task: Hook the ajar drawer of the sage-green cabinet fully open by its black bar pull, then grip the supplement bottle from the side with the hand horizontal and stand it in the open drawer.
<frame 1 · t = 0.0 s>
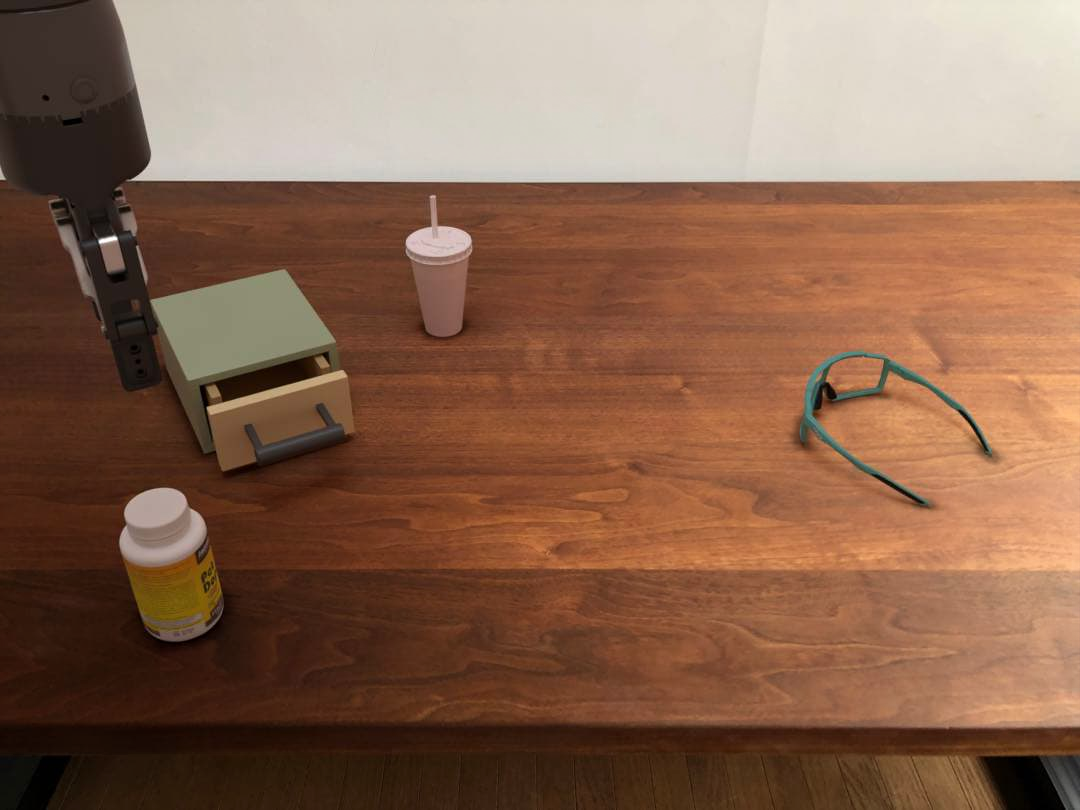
hand: (128, 349, 64), 21 cm above the table, tool pointing down, fingers open, 8 cm apart
smoothie: (443, 328, 106), on the table
cabinet: (253, 390, 97), on the table
drawer: (270, 397, 90), point 4 cm above the table, slide at 3.0 cm
supplement bottle: (186, 617, 75), on the table
sunglasses: (883, 442, 91), on the table
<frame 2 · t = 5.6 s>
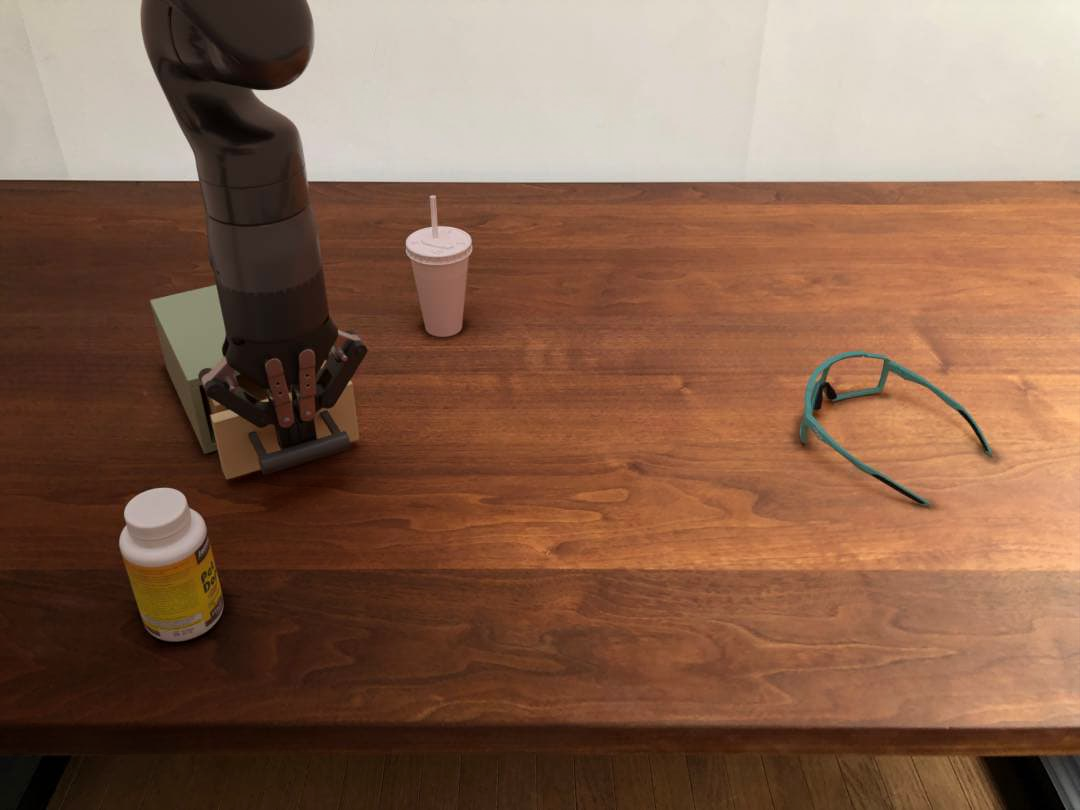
hand: (299, 453, 85), 3 cm above the table, tool pointing down, fingers closed
drawer: (274, 404, 89), point 4 cm above the table, slide at 4.2 cm, touching gripper
everything else where it was.
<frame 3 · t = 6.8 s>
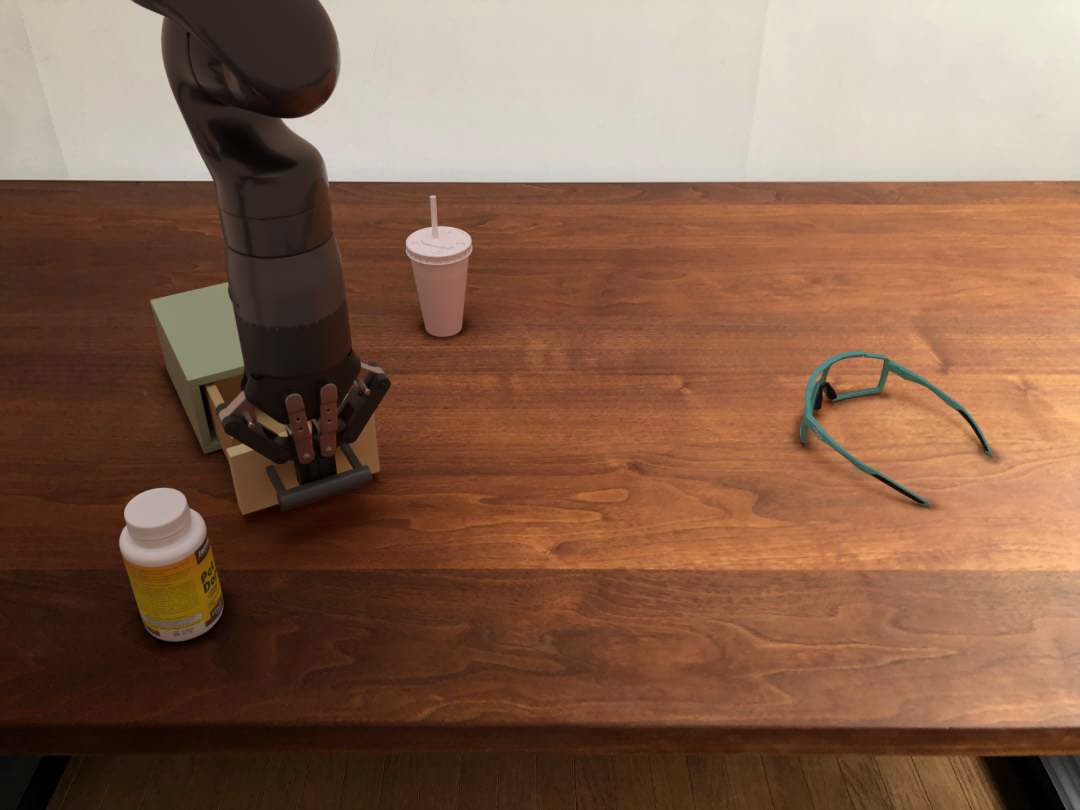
hand: (319, 489, 81), 3 cm above the table, tool pointing down, fingers closed
drawer: (292, 435, 85), point 4 cm above the table, slide at 9.0 cm, touching gripper
everything else where it was.
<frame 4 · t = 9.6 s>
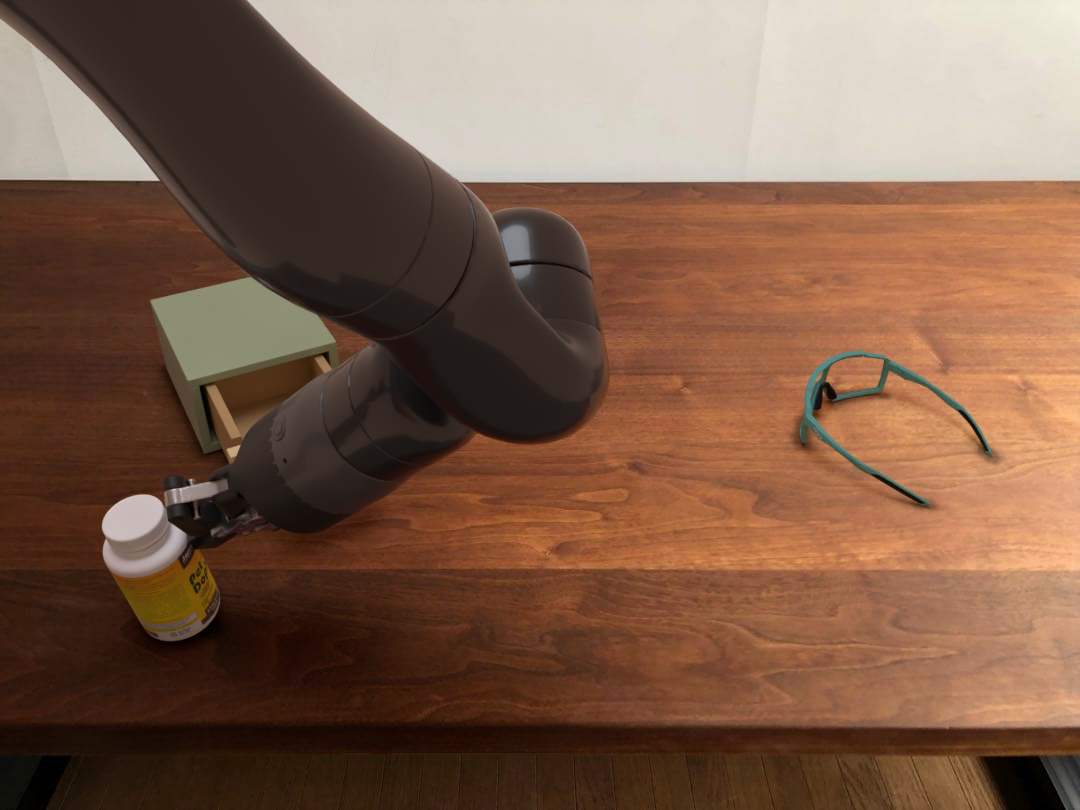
hand: (201, 534, 70), 8 cm above the table, tool tilted 45°, fingers closed
drawer: (292, 435, 85), point 4 cm above the table, slide at 9.1 cm
supplement bottle: (184, 613, 75), on the table, touching gripper
everything else where it was.
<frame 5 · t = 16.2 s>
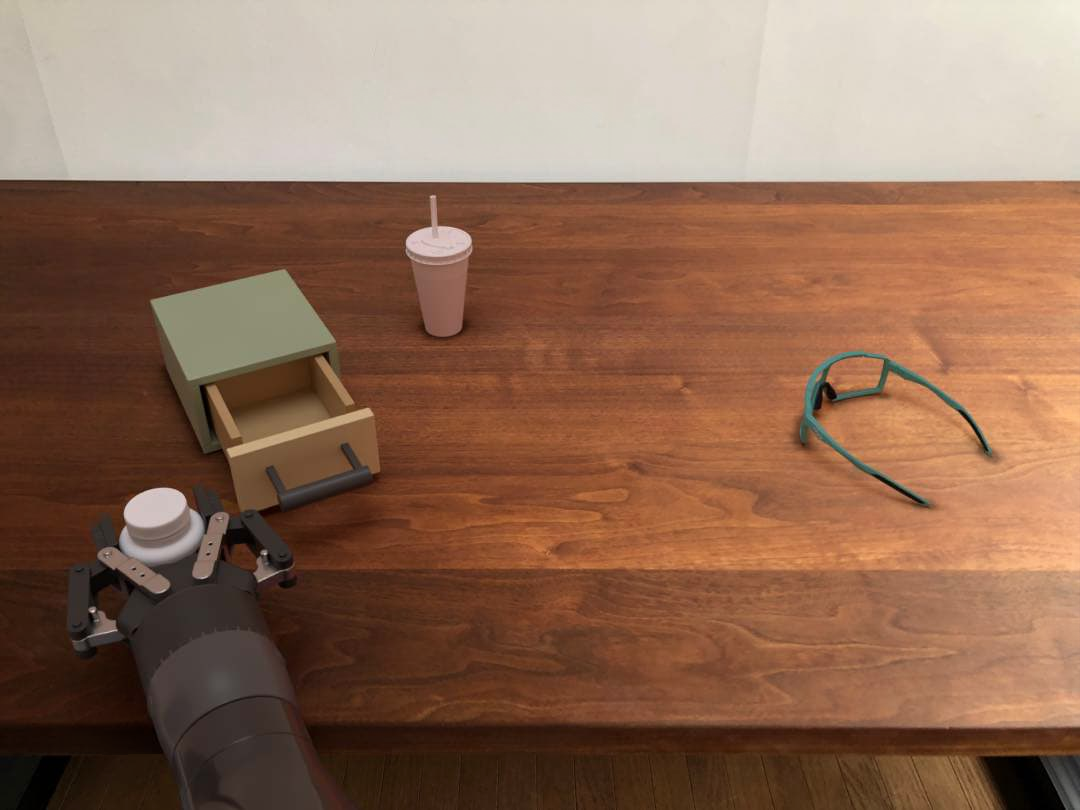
hand: (154, 509, 72), 8 cm above the table, tool horizontal, fingers closed on supplement bottle, 5 cm apart
supplement bottle: (186, 617, 75), on the table, touching gripper
everything else where it was.
when the fingers open (10 cm above the table, at t = 23.8 s): supplement bottle stays where it is, resting on drawer.
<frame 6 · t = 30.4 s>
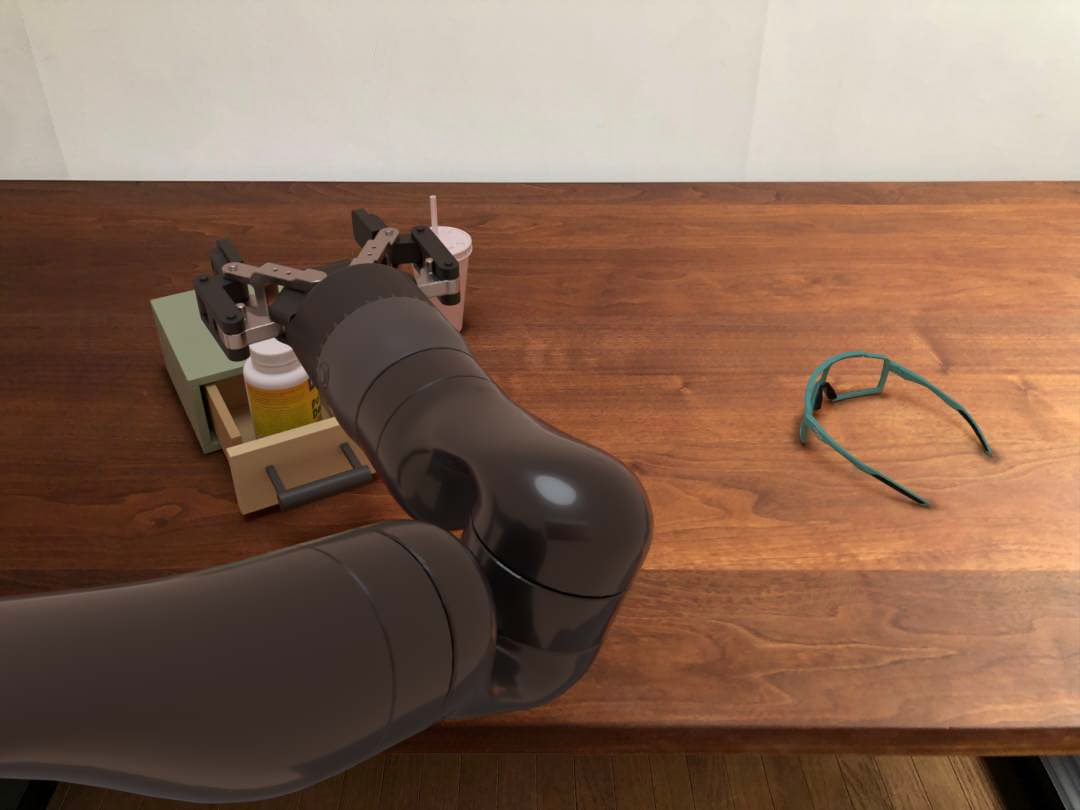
hand: (292, 237, 65), 26 cm above the table, tool horizontal, fingers open, 8 cm apart
drawer: (292, 435, 85), point 4 cm above the table, slide at 9.0 cm, touching supplement bottle
supplement bottle: (292, 446, 87), point 2 cm above the table, touching drawer
everything else where it was.
at the end: drawer slide at 9.0 cm; supplement bottle inside the target area in the drawer (0.1 cm from its centre), point 1.8 cm above the cabinet's base; supplement bottle tilted 0° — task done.
